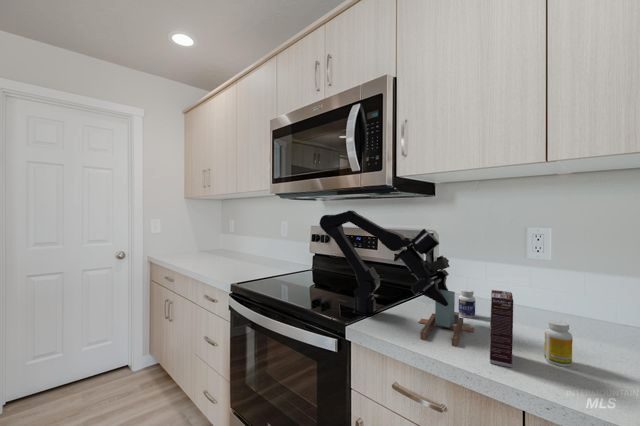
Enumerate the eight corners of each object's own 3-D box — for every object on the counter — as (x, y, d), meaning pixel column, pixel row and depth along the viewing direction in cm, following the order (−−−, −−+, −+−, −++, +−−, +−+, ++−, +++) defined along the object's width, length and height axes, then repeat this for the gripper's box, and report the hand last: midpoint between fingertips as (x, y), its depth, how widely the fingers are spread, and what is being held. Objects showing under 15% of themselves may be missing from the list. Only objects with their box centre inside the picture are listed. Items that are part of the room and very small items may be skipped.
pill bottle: (457, 316, 108) (458, 290, 108) (459, 312, 113) (459, 287, 113) (475, 319, 106) (475, 292, 106) (475, 314, 110) (475, 289, 110)
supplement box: (513, 368, 73) (514, 300, 72) (489, 363, 75) (490, 297, 75) (511, 353, 80) (512, 291, 80) (489, 349, 82) (490, 289, 82)
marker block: (435, 324, 98) (435, 292, 98) (440, 320, 101) (440, 289, 101) (449, 327, 95) (450, 294, 95) (454, 323, 98) (454, 291, 98)
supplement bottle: (538, 357, 79) (539, 318, 78) (559, 356, 79) (559, 318, 79) (556, 367, 73) (556, 326, 73) (578, 367, 73) (578, 326, 73)
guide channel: (408, 336, 91) (408, 326, 91) (423, 315, 109) (423, 307, 109) (470, 349, 83) (470, 337, 83) (474, 324, 101) (475, 315, 101)
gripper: (421, 250, 93) (460, 294, 86) (442, 245, 108) (477, 282, 101) (396, 273, 98) (431, 316, 91) (420, 266, 113) (451, 302, 106)
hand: (449, 303), depth 97 cm, fingers closed on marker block, 4 cm apart
